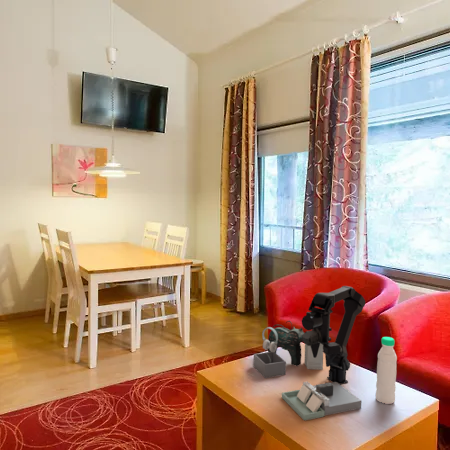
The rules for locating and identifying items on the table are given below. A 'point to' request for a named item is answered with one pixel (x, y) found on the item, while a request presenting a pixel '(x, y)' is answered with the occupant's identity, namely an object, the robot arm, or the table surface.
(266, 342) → the headphones
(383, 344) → the water bottle
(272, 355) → the gray open box
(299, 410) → the bin
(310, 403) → the tile
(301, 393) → the tile
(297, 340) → the power drill
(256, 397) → the table surface
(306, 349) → the supplement box
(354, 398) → the board
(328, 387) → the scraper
